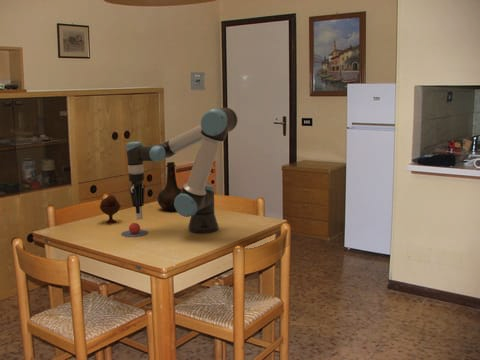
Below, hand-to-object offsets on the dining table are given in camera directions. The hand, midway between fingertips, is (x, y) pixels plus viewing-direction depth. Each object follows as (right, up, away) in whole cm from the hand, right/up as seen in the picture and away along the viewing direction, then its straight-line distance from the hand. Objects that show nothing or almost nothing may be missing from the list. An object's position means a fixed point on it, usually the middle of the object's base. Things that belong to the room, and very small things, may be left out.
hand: (139, 219), depth 286 cm
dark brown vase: (+11, +2, +49) cm, 50 cm away
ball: (-2, -4, -4) cm, 6 cm away
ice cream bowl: (-19, -3, +21) cm, 28 cm away
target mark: (-2, -7, -3) cm, 8 cm away
